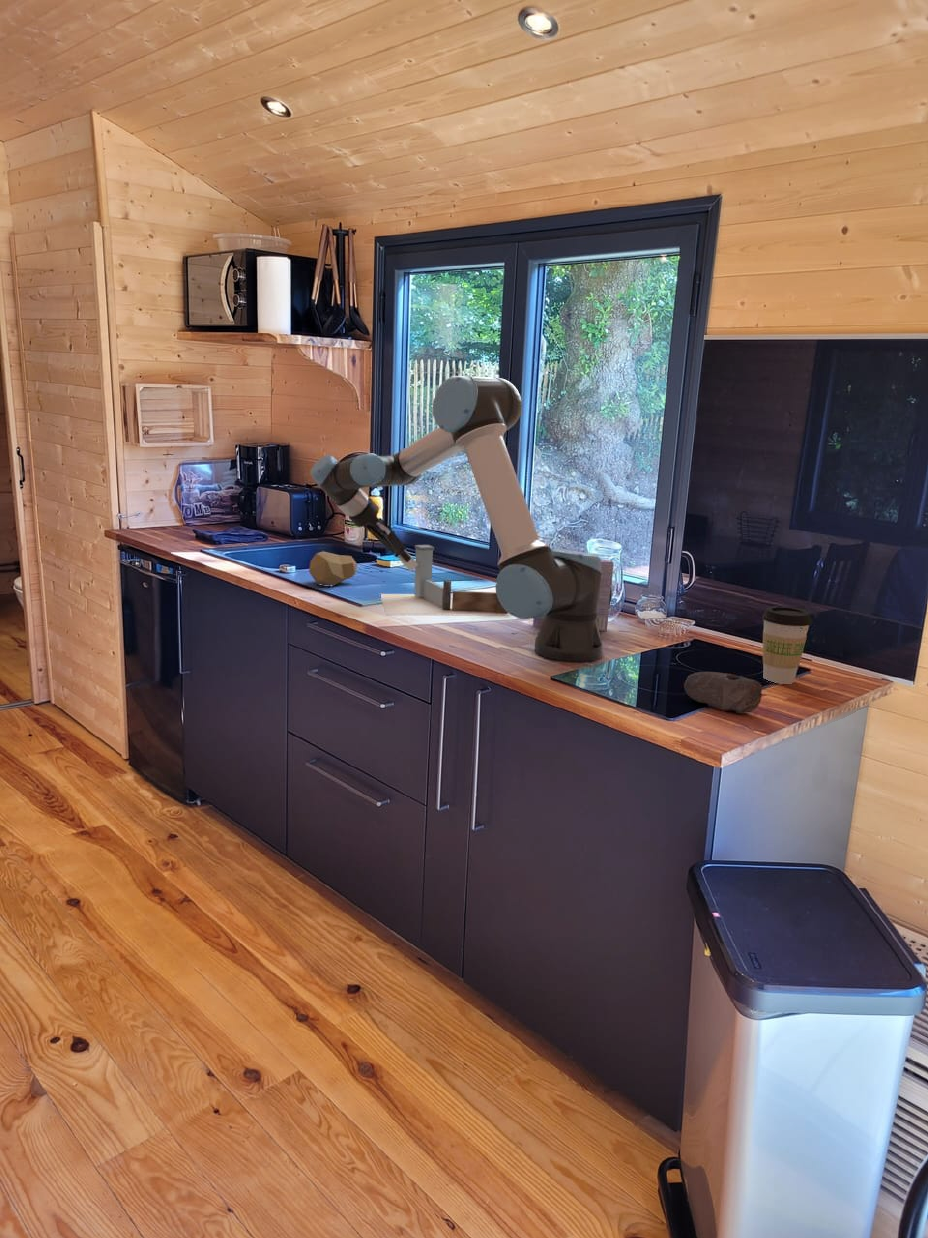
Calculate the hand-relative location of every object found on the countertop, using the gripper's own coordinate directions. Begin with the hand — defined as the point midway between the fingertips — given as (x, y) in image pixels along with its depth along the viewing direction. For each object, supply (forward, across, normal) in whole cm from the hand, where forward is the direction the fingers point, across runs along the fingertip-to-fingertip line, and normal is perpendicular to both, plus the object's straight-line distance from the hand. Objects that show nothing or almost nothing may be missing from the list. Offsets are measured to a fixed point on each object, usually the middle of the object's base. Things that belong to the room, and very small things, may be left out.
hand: (413, 567), depth 249 cm
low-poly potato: (-2, +25, +16) cm, 30 cm away
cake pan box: (+23, -41, -10) cm, 48 cm away
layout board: (+10, -10, +3) cm, 14 cm away
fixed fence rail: (+12, -19, 0) cm, 22 cm away
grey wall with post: (+8, -6, +4) cm, 10 cm away
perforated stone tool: (+17, -100, -4) cm, 101 cm away
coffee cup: (+34, -92, -22) cm, 100 cm away
